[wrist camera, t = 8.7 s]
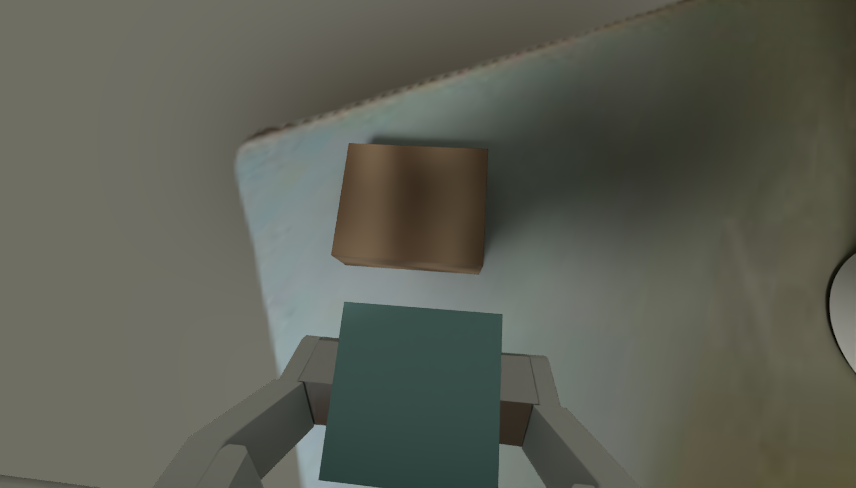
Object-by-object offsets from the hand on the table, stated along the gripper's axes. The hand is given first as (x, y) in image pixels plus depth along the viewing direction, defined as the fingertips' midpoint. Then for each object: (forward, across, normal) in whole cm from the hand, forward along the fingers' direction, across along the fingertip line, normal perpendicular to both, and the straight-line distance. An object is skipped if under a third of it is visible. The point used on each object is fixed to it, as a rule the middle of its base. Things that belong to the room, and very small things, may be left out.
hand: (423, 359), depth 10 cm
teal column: (+4, 0, +5) cm, 6 cm away
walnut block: (+22, +3, +6) cm, 22 cm away
